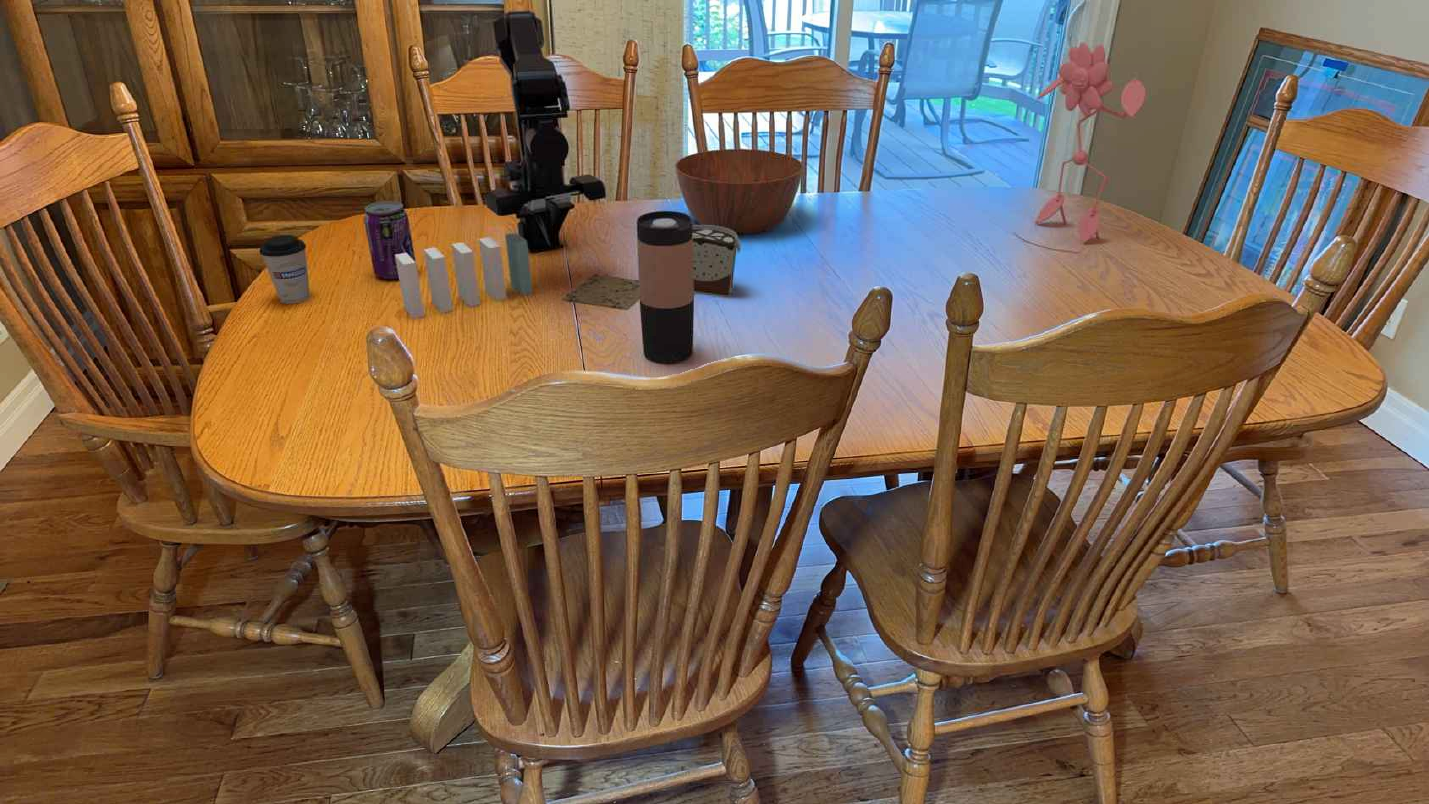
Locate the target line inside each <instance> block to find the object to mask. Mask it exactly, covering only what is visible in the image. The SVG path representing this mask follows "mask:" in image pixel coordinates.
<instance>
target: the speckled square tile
mask: <svg viewBox="0 0 1429 804" xmlns="http://www.w3.org/2000/svg"><path fill="white" fill-rule="evenodd" d="M561 301H563V302H567V303H575V304H576V303H577V304H582V305H589V306H595V307H596V306H598V307H602V308H603V307H605V308H610V309H618V310H623V311H628V310H629V309H631V308H632V307H633V306H635V304H636V303H637V302H639V301H640V299H639V279H631V278H625V277H624V278H623V277H616V276H614V275H613V276H612V275H609V274H599V273H598V274H593V275H591V276H589V277H587V279H586V280H585V281H583V282H582V283H580V284H579V285H578V286H577V287H575V289H573V290H572V291H570V292H569V293H567V294H566V295H565V296H563V298H562V299H561Z"/></svg>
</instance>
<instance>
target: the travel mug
mask: <svg viewBox="0 0 1429 804" xmlns="http://www.w3.org/2000/svg"><path fill="white" fill-rule="evenodd" d="M692 225H693V217H691V216H690V215H689V214H687V213H685V212H680V211H674V210H657V211H652V212H651V211H650V212H646V213H644V214H642V215H640V216H639V217H638V218H637V220H636V237H637V238H636V239H637V240H636V241H637V243H636V244H637V267H638V268H637V270H638V280H639V309H640V310H639V313H640V323H641V324H640V325H641V338H642V347H643V348H642V349H643V355H644V357H645V359H647V360H648V361H650V362H652V363H655V364H656V363H657V364H661V365H662V364H664V365H670V364H671V365H672V364H673V365H674V364H680V363H682V362H685V361H687V360H688V359H689V360H690V358H691V357H692V355H693V352H694V316H695V311H694V310H695V293H694V276H693V233H692Z"/></svg>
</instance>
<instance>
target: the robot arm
mask: <svg viewBox="0 0 1429 804" xmlns="http://www.w3.org/2000/svg"><path fill="white" fill-rule="evenodd" d="M491 33H492V34H491V35H492V42H493V43H492V44H493V49H494V51H498V59H499V62H500V64H501V65H502V67H503V68H504V70H505V71H506V73H507V74H508V75H509V76H510V77H509V79H510V89H511V97H512V101H513V107H514V114H515V115H514V116H515V121H516V130H517V138H518V144H519V151H520V152H519V153H520V163H519V165H518V163H517V161H516V160H512V161H506V162H503V163H502V167H503V175H504V180H505V182H506V183H513V182H514V183H515V184H512V188H511V187H509V186H508V187H503V188H497V189H492V190H491V189H489V190H488V192H487V194H486V197H485V201H486V208H487V209H489V210H490V211H492V212H493V213H494V214H495V215H497V217H504V216H505V217H506V216H510V215H511V216H512V215H515V218H516V219H517V220H519V221H518V222H517V231H518V235H520V236H521V237H522V238H524V239H525V240H526V241H527V246H528V252H529V253H538V252H543V251H547V250H548V251H549V250H552V249H558V248H562V247H564V243H563V242H561V241H560V232H561V229H562V227H563V224H564V222H565V220H566V218H567V216H568V214H569V213H570V210H573V209H575V207H576V206H575V204H574V203H572V200H571V199H572V197H574V196H579V195H583V196H584V197H585V198H586V199H588V201H590V202H591V201H595V200H602V199H606V198H607V192H606V185H605V182H603V181H602V180H601V179H599V178H597V177H595V176H593V175H592V174H584V175H583V174H582V175H577V176H576V175H575V176H572V177H570V179H569V184H568V183H567V184H566V183H565V182H564V171H563V167H565V166H566V162H565V161H566V159H567V157H568V155H569V152H570V151H569V150H570V145H569V143H568V140H567V138H566V136H565V134H564V133H563V131H562V130H561V128H560V125H559V119H565V118H567V119H568V117H569V116H568V114H569V113H568V111H570V109H571V104H570V100H569V95H568V89H567V85H566V81H564V80H563V76H562V75H561V74H558V72H557V68H556V66H555V64H554V62H553V61H552V60H550V59H547V58H546V57H544V55H543V50H542V49H544V46H545V35H544V28H543V20H541V19H540V18H539V17H536V13H535V11H533V12H532V11H531V10H517V11H516V10H515V11H513V10H512V11H507V12H504V13H503V17H500V18H498V19H497V20H495V21H493V22H492V26H491Z"/></svg>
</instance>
